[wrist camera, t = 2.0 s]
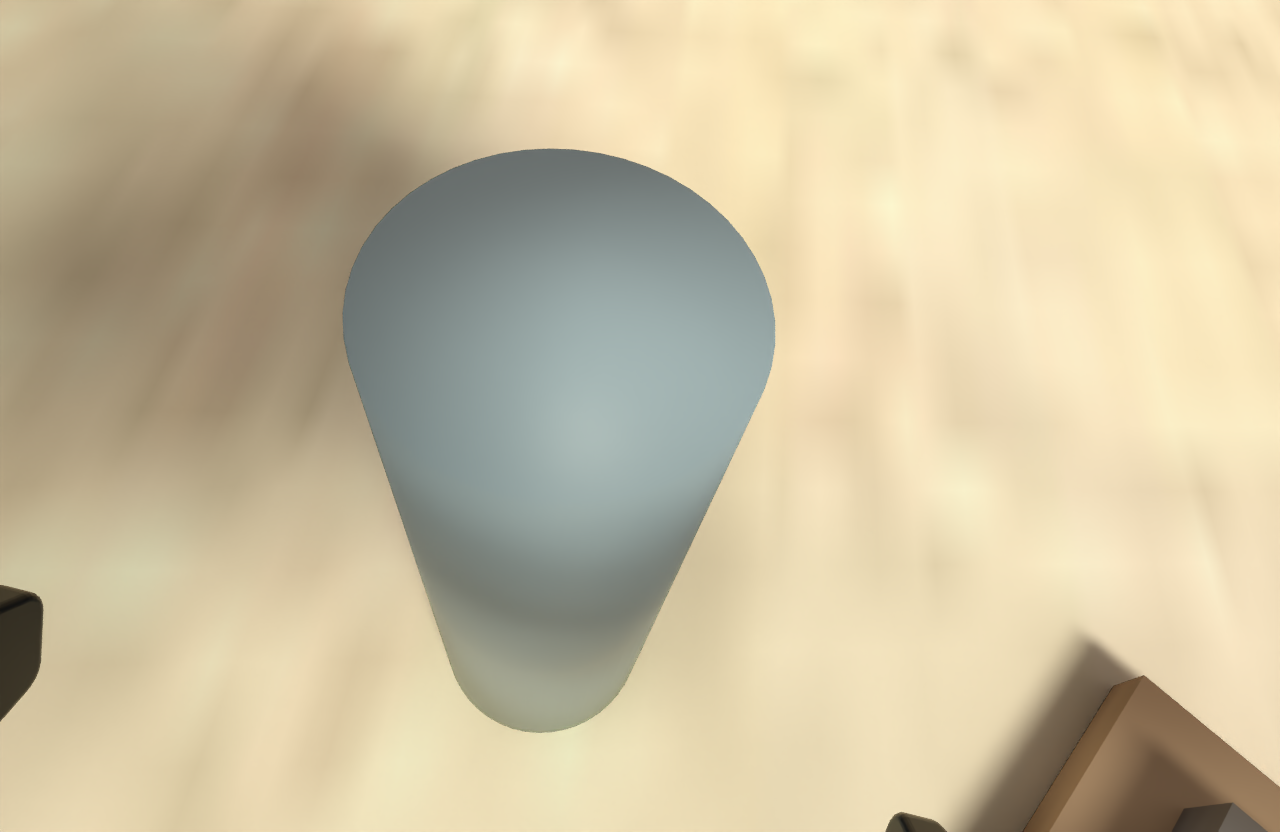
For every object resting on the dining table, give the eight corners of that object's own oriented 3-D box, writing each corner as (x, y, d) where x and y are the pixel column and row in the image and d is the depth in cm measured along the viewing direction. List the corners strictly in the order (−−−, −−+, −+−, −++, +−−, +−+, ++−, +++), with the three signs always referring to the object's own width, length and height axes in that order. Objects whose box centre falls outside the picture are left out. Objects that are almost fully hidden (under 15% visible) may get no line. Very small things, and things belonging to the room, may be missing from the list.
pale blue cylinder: (464, 754, 19) (368, 548, 7) (434, 564, 21) (322, 170, 9) (658, 706, 20) (835, 457, 8) (612, 528, 22) (707, 131, 10)
